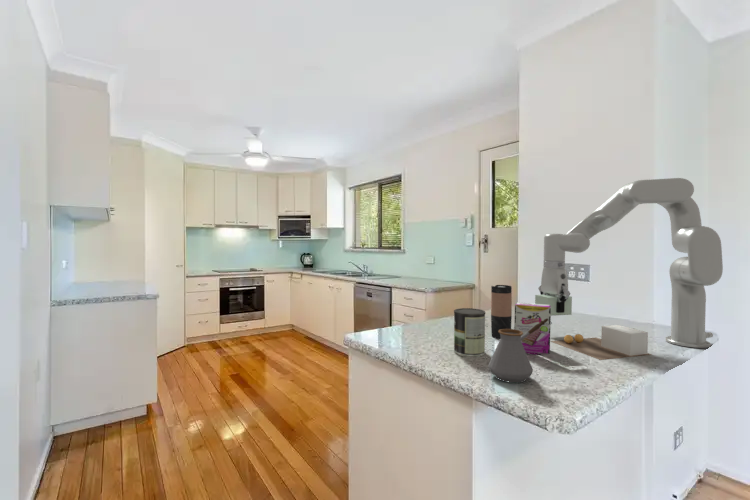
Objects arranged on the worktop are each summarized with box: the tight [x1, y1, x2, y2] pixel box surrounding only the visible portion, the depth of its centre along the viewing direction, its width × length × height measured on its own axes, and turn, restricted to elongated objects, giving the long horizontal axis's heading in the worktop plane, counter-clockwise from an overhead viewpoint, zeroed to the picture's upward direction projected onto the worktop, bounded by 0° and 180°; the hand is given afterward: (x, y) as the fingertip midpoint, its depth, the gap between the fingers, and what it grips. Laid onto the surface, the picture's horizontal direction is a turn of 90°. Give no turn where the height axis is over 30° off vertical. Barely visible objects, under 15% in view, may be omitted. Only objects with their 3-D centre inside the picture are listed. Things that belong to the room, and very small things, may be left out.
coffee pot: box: [488, 318, 553, 383], centre depth 105 cm, size 21×12×15 cm, turn 117°
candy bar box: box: [513, 301, 552, 356], centre depth 125 cm, size 11×5×16 cm, turn 65°
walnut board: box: [550, 337, 653, 361], centre depth 128 cm, size 20×22×1 cm
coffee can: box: [453, 307, 486, 358], centre depth 126 cm, size 10×10×14 cm
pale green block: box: [534, 294, 573, 317], centre depth 146 cm, size 11×7×7 cm, turn 105°
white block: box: [600, 324, 649, 356], centre depth 125 cm, size 11×7×7 cm, turn 15°
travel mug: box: [490, 284, 513, 340], centre depth 146 cm, size 8×8×20 cm
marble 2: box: [573, 333, 585, 343], centre depth 134 cm, size 3×3×3 cm
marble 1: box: [563, 334, 574, 343], centre depth 133 cm, size 3×3×3 cm
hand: (553, 310), depth 146 cm, fingers closed on pale green block, 7 cm apart
